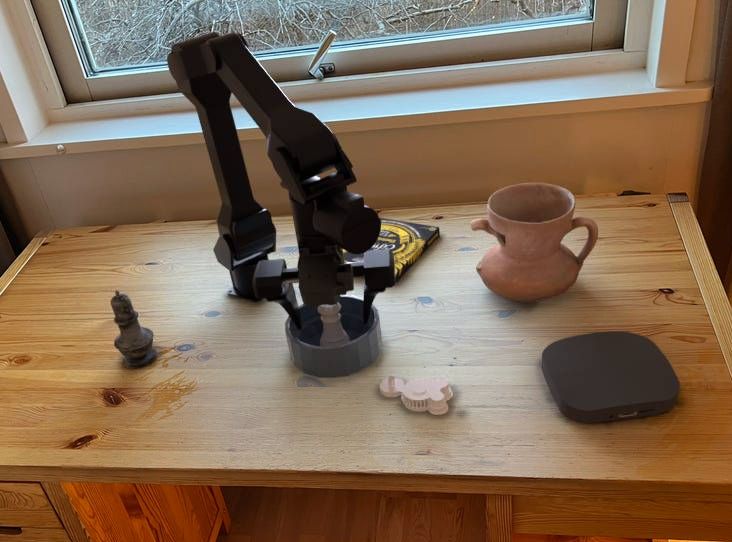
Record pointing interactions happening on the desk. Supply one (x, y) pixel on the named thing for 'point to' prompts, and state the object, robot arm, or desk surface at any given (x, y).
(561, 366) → the media streaming box
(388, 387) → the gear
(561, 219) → the ceramic jug
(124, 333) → the bishop chess piece
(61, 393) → the desk surface
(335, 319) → the rook chess piece
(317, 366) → the basin
